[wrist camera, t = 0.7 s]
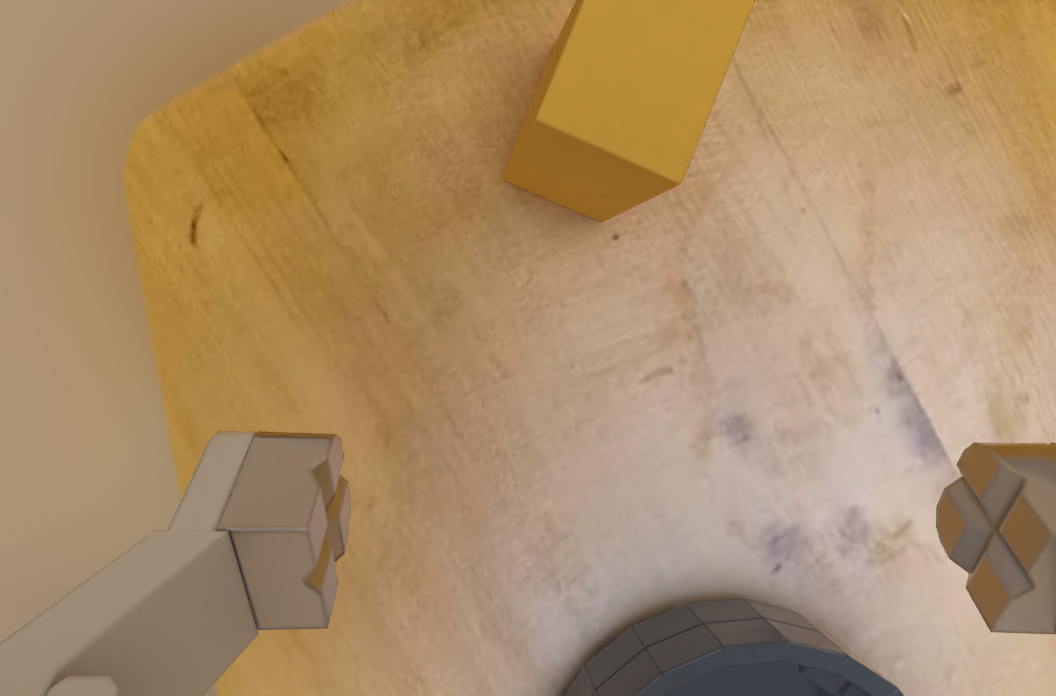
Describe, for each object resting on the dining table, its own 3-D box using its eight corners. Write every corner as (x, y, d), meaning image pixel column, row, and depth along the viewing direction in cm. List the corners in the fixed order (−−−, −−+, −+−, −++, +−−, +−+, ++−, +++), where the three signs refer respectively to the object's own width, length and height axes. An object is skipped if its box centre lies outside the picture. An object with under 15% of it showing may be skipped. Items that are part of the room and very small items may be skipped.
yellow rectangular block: (500, 179, 31) (534, 119, 21) (556, 41, 31) (616, -85, 21) (601, 223, 32) (681, 185, 22) (656, 87, 32) (761, -13, 22)
